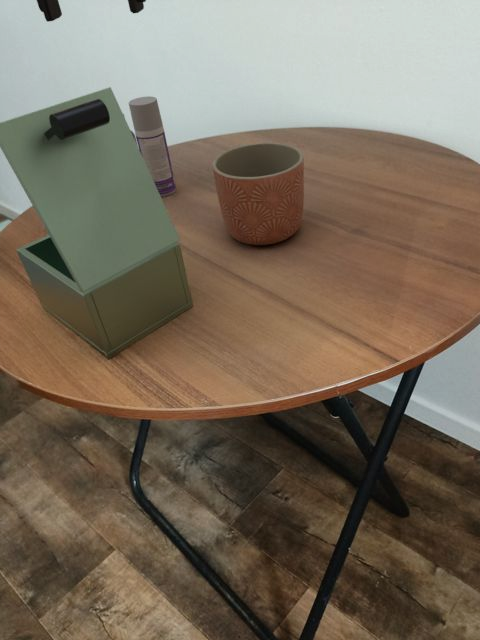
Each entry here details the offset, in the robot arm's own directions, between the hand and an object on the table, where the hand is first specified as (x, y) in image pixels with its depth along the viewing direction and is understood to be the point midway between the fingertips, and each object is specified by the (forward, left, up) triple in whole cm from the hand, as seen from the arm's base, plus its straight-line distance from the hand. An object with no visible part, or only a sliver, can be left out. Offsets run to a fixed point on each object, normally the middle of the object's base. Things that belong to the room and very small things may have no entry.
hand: (95, 15), depth 58 cm
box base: (+8, -12, -29) cm, 33 cm away
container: (-15, +13, -29) cm, 35 cm away
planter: (+10, +13, -29) cm, 34 cm away
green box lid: (+12, -12, -13) cm, 22 cm away
